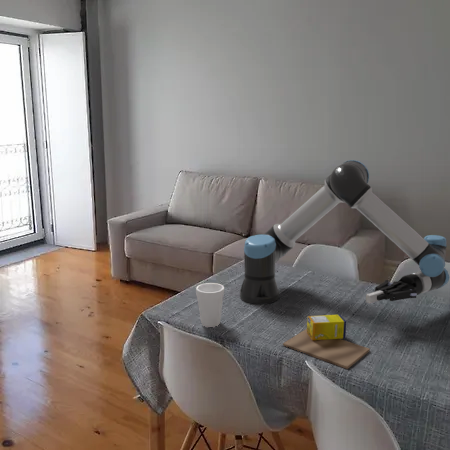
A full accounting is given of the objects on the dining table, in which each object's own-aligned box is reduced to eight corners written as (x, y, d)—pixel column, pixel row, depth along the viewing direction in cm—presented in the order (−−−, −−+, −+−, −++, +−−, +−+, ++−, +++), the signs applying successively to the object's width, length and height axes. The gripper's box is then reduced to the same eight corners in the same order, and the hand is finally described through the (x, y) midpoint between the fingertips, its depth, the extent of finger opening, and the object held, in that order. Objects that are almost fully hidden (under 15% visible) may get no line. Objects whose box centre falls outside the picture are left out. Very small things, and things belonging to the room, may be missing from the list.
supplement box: (339, 331, 165) (306, 333, 164) (340, 313, 164) (307, 315, 163) (345, 339, 160) (311, 341, 158) (346, 321, 158) (312, 323, 157)
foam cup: (228, 320, 176) (228, 284, 173) (219, 331, 168) (218, 294, 164) (202, 316, 179) (202, 281, 176) (192, 327, 171) (191, 291, 168)
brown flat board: (282, 345, 157) (282, 343, 157) (307, 330, 167) (307, 328, 167) (347, 369, 143) (347, 366, 143) (369, 351, 153) (369, 348, 153)
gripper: (430, 300, 172) (383, 316, 160) (398, 289, 183) (352, 303, 170) (431, 279, 170) (385, 294, 158) (399, 269, 181) (353, 282, 168)
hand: (368, 299), depth 164 cm, fingers closed
